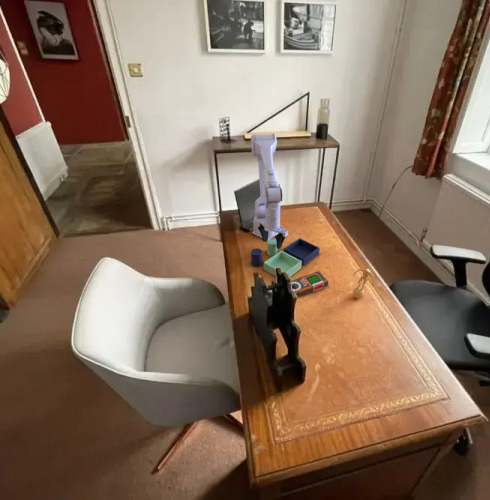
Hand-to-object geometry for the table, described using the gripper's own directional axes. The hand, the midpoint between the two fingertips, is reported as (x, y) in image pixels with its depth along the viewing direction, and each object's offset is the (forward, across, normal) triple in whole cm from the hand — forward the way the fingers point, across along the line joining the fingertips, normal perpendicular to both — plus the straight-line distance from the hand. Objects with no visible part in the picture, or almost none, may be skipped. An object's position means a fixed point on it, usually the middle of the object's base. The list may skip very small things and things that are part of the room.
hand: (272, 244), depth 132 cm
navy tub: (+5, +10, +8) cm, 13 cm away
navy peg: (+5, 0, -10) cm, 11 cm away
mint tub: (+5, +10, -5) cm, 12 cm away
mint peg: (+5, 0, 0) cm, 5 cm away
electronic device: (+5, +23, -7) cm, 25 cm away
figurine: (+5, +40, +2) cm, 41 cm away
